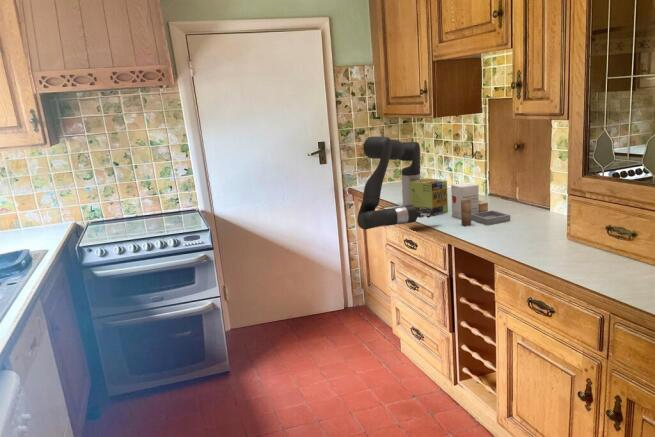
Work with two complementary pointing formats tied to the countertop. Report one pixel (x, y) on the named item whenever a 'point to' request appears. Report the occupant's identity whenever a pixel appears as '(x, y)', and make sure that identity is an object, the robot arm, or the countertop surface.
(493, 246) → the countertop surface
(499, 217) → the tray
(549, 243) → the countertop surface
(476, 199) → the supplement box
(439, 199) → the protein box
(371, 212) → the robot arm
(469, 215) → the dowel
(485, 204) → the stop block
